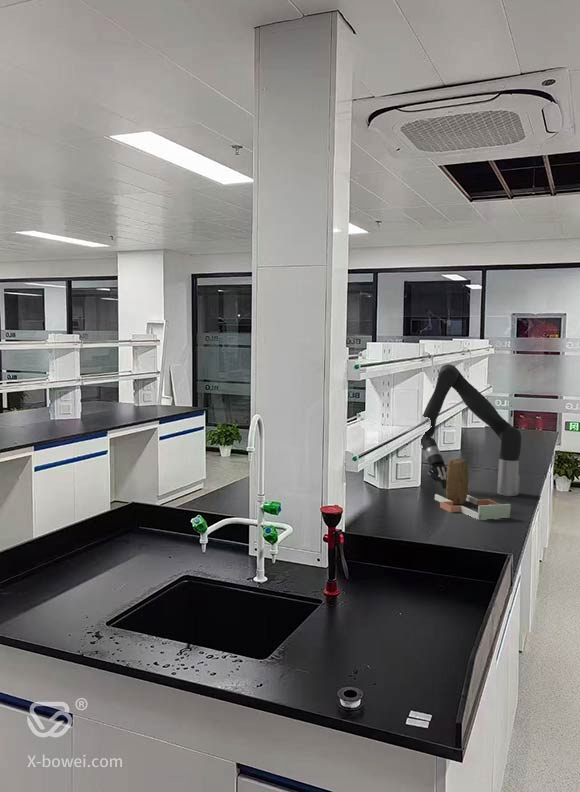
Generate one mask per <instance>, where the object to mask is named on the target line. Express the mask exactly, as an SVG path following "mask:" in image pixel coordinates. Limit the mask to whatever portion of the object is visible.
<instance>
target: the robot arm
mask: <svg viewBox="0 0 580 792" xmlns="http://www.w3.org/2000/svg"><path fill="white" fill-rule="evenodd" d="M451 388H452V389H453V390H455V392H457V394H458V395H459V397H460V398H461V399H462V401H463V403H464V404H465V406H466V407H467V408H468V410H470V411H471V412H472V413H473V415H474V416H475V417H476V418H478V419H479V420H481V421H482V422H483V423H485V424H486V425H487V426H488V427H489V428H490V429H491V430H492V431H493V432H494V433H495V434H496V436H497V438H499V440H500V451H499V455H498V469H497V471H498V475H497V492H496V493H497V494H498V495H500V496H506V497H514V496H518V495H519V494H520V482H521V481H520V480H521V479H520V477H521V476H520V475H519V465H520V463H519V461H520V455H521V448H522V447H521V446H522V434H521V431H520V430H519V429H517V428H516V427H514V426H513V425H511V424H510V423H509V422H508V421H507V420H505V419H504V418H503V417H502V416H501V415H500V413H499V412H498V411H497V409H496V408H495V407H494V405H493V404H492V403H491V402H490V401H489V400H488V399H487V398H486V397H485V396H484V395H483V394H482V393H481V392H480V391H479V390H478V389H477V388H476V387H475V386H474V385H472V384H471V383H470V382H469V381H468V380H467V379H466V378H465V377H464V375H463V374H462V373H461V372H460V370H458V368H457V367H456V366H455V365H453V364H450V363H449V364H444V365H442V366H441V367H440V369H439V371H438V373H437V380H436V384H435V388H434V390H433V393H432V395H431V397H430V398H429V401H428V403H427V405H426V407H425V410H424V412H423V413H422V417H423V416H424V417H428V418H430V420H431V426H432V427H431V428H430V429H429V430H428V431H427V432H425V434H424V435H423V437H422V439H421V444H420V446H421V447H422V449H423V453H424V456H425V460H426V462H427V465H428V467H429V470H428V472H427V475H428V476H429V477H430V478H431V479H433V480H434V481H435V482H439V483H440V486H441V488H443V490H444V489H445V490H446V485H447V471H448V467H447V466H446V465H445V460H444V458H443V455H442V453H441V450H440V449H439V447H438V444H437V442H436V440H435V438H433V436H434V435H435V432H436V431H435V430H436V425H437V419H438V417H439V414H440V413H441V410H442V408H443V404H444V403H445V399H446V397H447V395H448V393H449V391H450V390H451Z"/></svg>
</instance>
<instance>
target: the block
mask: <svg viewBox="0 0 580 792" xmlns="http://www.w3.org/2000/svg"><path fill="white" fill-rule="evenodd" d="M447 469H448V471H447V473H446V476H447V485H446V489H445V490H446V491H445V498H446V499H448V500H451V501H453V505H463V504H465V503H466V498H467V495H468V491H469V468H468V460H467V459H463V458H454V459H451V460H449V461H448V467H447Z"/></svg>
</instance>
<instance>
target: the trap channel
mask: <svg viewBox="0 0 580 792" xmlns="http://www.w3.org/2000/svg"><path fill="white" fill-rule="evenodd" d="M434 500H435V501H437V502H439V508H440V509H443V510H445V511H446V512H448V513H463V514H464V515H466V516H468V515H469V517H470V516H471V518H473V519H475V518H476V519H475V520H477V519H478V520H477V521H488V520H487V519H494V520H500V519H499V518H511V508H512V507H511V503H499V502H496V501H494V500H492V499H490V498H488V499H487V498H485V499H478V498H476V497H474V496H471V495H469V494H467V498H466V501H467V502H469V503H471V504H473V505H475V506H477V511H475V510H472V509H471V508H468V507H466V506H463V505H454V504H453V501H451V500H448V499H446V497H444V496H442V495H439V494H437V493H435V494H434ZM466 501H465V502H466Z"/></svg>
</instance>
